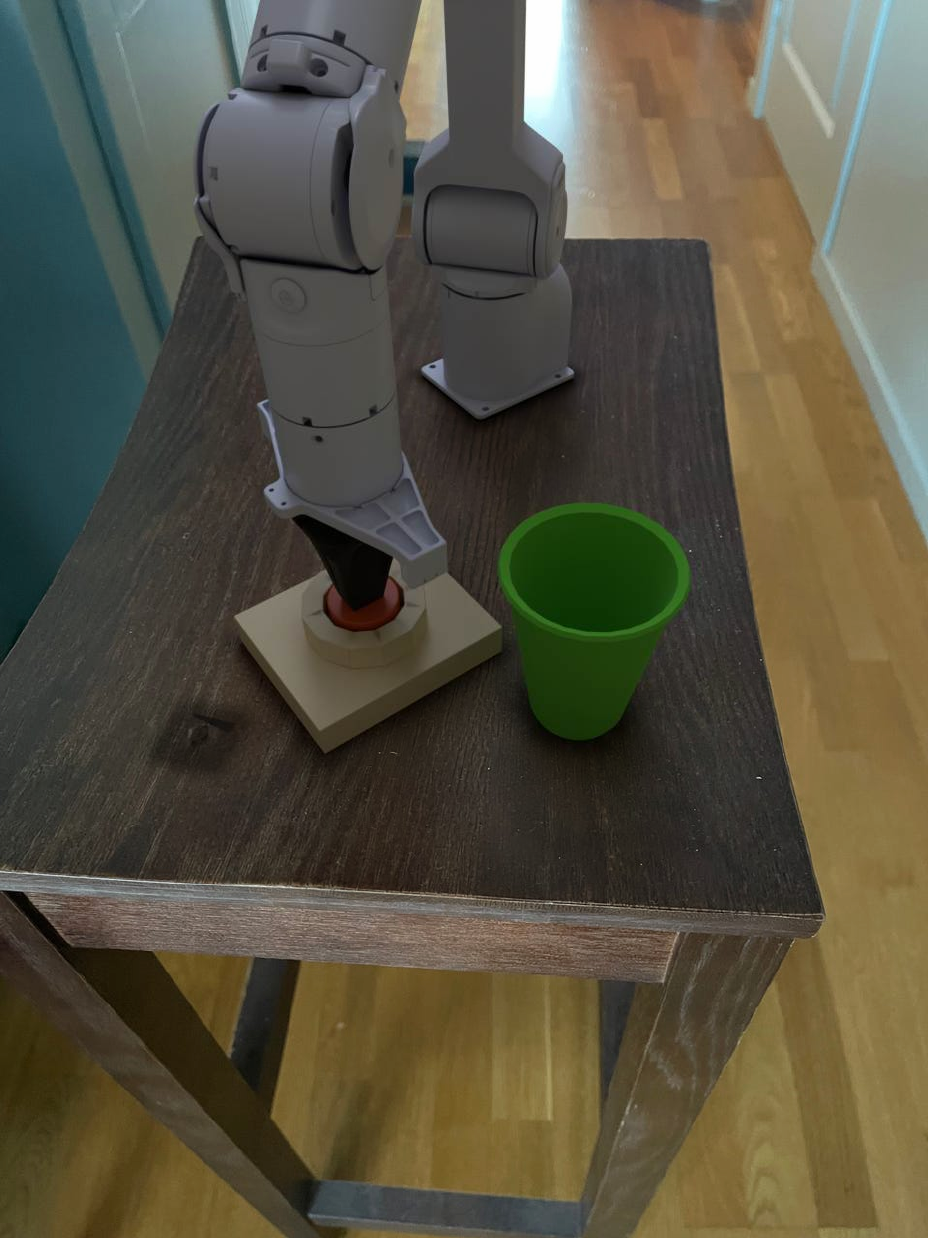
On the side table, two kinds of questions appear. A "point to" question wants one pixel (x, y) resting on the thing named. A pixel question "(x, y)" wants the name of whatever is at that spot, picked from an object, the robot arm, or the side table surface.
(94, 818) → the side table surface
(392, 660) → the button housing
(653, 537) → the cup
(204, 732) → the dark square tile
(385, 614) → the lid button
